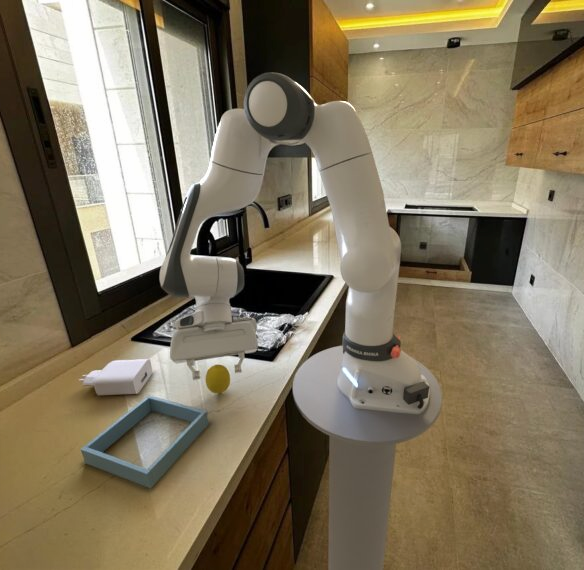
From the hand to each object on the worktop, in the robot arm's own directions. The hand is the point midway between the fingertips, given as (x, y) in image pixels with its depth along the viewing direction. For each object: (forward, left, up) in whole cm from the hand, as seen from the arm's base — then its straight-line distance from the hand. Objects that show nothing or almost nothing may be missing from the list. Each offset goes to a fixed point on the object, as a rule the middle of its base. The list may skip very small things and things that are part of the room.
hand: (217, 375), depth 77 cm
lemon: (0, 0, -5) cm, 5 cm away
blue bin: (+4, +17, -5) cm, 18 cm away
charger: (+27, +6, -5) cm, 28 cm away
